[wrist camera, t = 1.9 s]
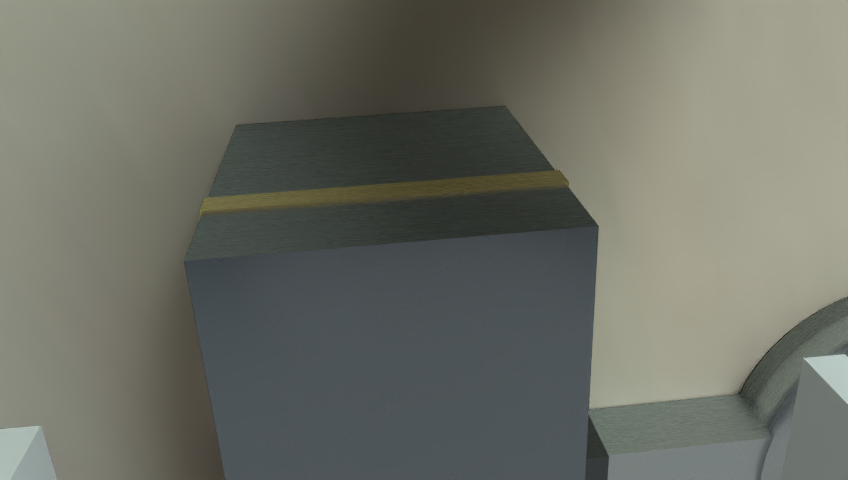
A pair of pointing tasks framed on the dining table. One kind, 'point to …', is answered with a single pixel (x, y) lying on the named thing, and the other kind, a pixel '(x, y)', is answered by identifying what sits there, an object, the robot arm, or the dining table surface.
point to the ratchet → (716, 419)
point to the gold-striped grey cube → (395, 301)
